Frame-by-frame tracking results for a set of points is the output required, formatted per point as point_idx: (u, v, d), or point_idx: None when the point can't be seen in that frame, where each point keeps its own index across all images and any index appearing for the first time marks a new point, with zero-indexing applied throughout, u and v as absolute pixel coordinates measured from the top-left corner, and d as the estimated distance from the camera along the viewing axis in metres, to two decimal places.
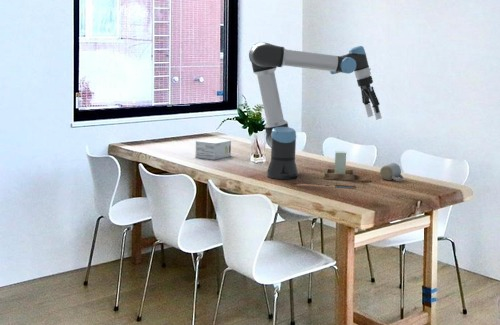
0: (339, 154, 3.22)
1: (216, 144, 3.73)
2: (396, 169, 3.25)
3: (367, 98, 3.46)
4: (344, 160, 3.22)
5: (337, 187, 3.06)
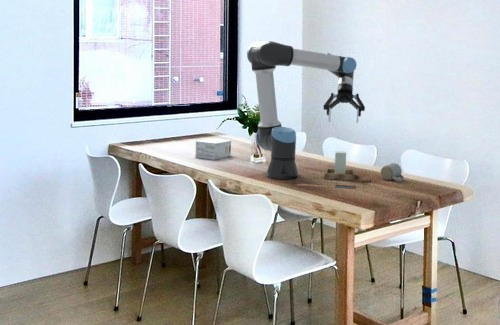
0: (339, 154, 3.22)
1: (216, 144, 3.73)
2: (396, 169, 3.25)
3: (334, 105, 3.38)
4: (344, 160, 3.22)
5: (337, 187, 3.06)
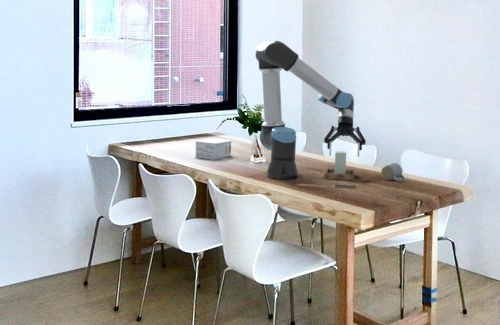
0: (339, 154, 3.22)
1: (216, 144, 3.73)
2: (397, 169, 3.25)
3: (335, 138, 3.36)
4: (344, 160, 3.22)
5: (337, 187, 3.06)
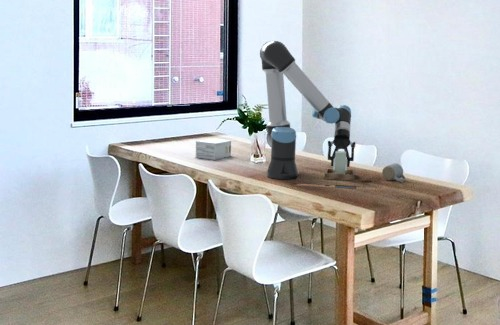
0: (339, 154, 3.22)
1: (216, 144, 3.72)
2: (398, 169, 3.24)
3: None
4: (344, 160, 3.22)
5: (337, 187, 3.06)
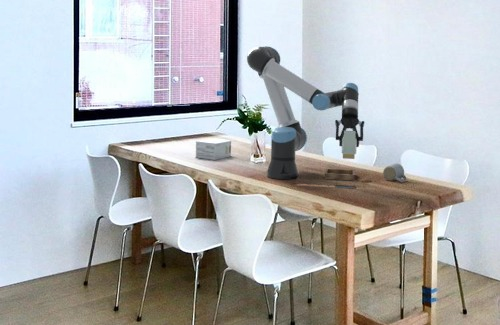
0: (348, 133, 3.05)
1: (216, 144, 3.72)
2: (399, 170, 3.24)
3: None
4: (353, 140, 3.05)
5: (337, 187, 3.06)
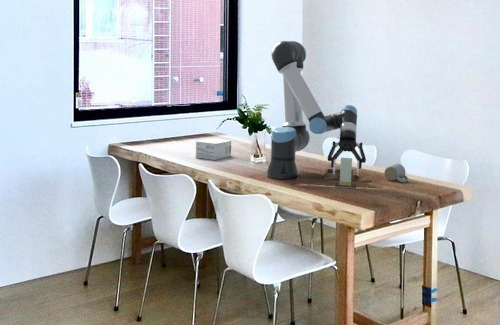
0: (345, 161, 3.05)
1: (216, 144, 3.72)
2: (400, 170, 3.24)
3: (338, 155, 3.12)
4: (350, 167, 3.05)
5: (337, 187, 3.06)
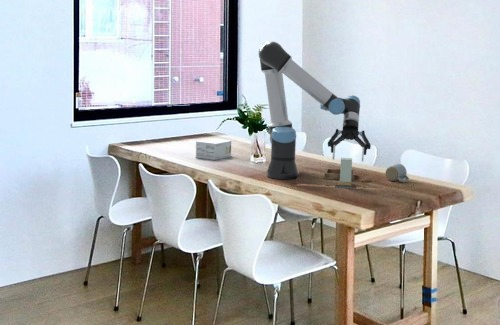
0: (345, 161, 3.05)
1: (216, 144, 3.72)
2: (402, 170, 3.23)
3: (339, 142, 3.26)
4: (350, 167, 3.05)
5: (337, 187, 3.06)
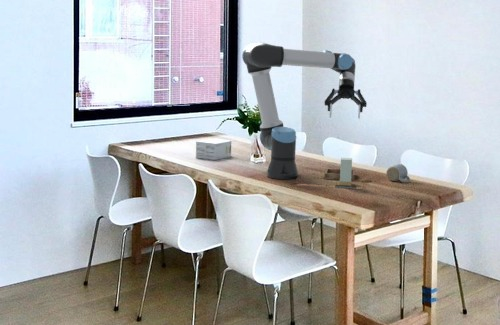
0: (345, 161, 3.05)
1: (216, 144, 3.72)
2: (403, 170, 3.23)
3: (335, 100, 3.33)
4: (350, 167, 3.05)
5: (337, 187, 3.06)
